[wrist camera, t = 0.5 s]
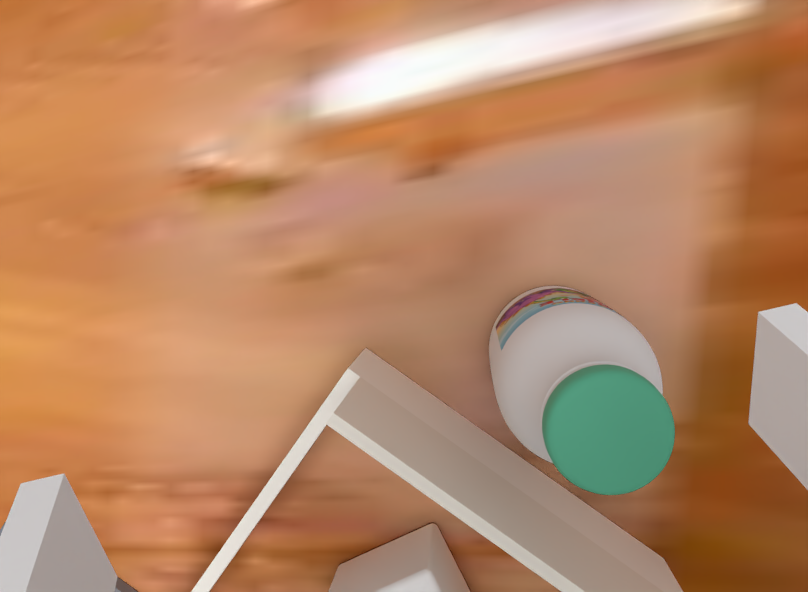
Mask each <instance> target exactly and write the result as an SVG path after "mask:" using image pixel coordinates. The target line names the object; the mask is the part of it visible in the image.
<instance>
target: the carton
mask: <svg viewBox="0 0 808 592" xmlns="http://www.w3.org/2000/svg"><path fill="white" fill-rule="evenodd" d="M327 425H328V426H329V427H331V428H332V429H334V430H335V431H336V432H338V433H339V434H341V435H342V436H343V437H345V438H346V439H348V440H349V441H350V442H352V443H353V444H355V445H356V446H357V447H359V448H360V449H362V450H363V451H364V452H366V453H367V454H369V455H370V456H372V457H373V458H374V459H376V460H377V461H379V462H380V463H381V464H383V465H384V466H386V467H387V468H388V469H390V470H391V471H393V472H394V473H395V474H397V475H398V476H400V477H401V478H402V479H404V480H405V481H407V482H408V483H409V484H411V485H412V486H414V487H415V488H417V489H418V490H419V491H421V492H422V493H424V494H425V495H426V496H428V497H429V498H431V499H432V500H433V501H435V502H436V503H438V504H439V505H440V506H442V507H443V508H445V509H446V510H447V511H449V512H450V513H452V514H453V515H455V516H456V517H457V518H459V519H460V520H462V521H463V522H464V523H466V524H467V525H469V526H470V527H471V528H473V529H474V530H476V531H477V532H478V533H480V534H481V535H483V536H484V537H485V538H487V539H488V540H490V541H491V542H492V543H494V544H495V545H497V546H498V547H500V548H501V549H502V550H504V551H505V552H507V553H508V554H509V555H511V556H512V557H514V558H515V559H516V560H518V561H519V562H521V563H522V564H523V565H525V566H526V567H528V568H529V569H530V570H532V571H533V572H535V573H536V574H538V575H539V576H540V577H542V578H543V579H545V580H546V581H547V582H549V583H550V584H552V585H553V586H554V587H556V588H557V589H559V590H560V591H561V592H683V591H682V589H681V587H680V586H679V584H678V582H677V580H676V579H675V577H674V575H673V574H672V572H671V570H670V568H669V567H668V565H667V563H666V562H665V560H664V558H662V557H661V556H660V555H658V554H657V553H655V552H654V551H653V550H651V549H650V548H648V547H647V546H645V545H644V544H643V543H641V542H640V541H638V540H637V539H636V538H634V537H633V536H631V535H630V534H629V533H627V532H626V531H624V530H623V529H621V528H620V527H619V526H617V525H616V524H614V523H613V522H612V521H610V520H609V519H607V518H606V517H605V516H603V515H602V514H600V513H599V512H597V511H596V510H595V509H593V508H592V507H590V506H589V505H588V504H586V503H585V502H583V501H582V500H580V499H579V498H578V497H576V496H575V495H573V494H572V493H571V492H569V491H568V490H566V489H565V488H564V487H562V486H561V485H559V484H558V483H556V482H555V481H554V480H552V479H551V478H549V477H548V476H547V475H545V474H544V473H542V472H541V471H540V470H538V469H537V468H535V467H534V466H532V465H531V464H530V463H528V462H527V461H525V460H524V459H523V458H521V457H520V456H518V455H517V454H515V453H514V452H513V451H511V450H510V449H508V448H507V447H506V446H504V445H503V444H501V443H500V442H499V441H497V440H496V439H494V438H493V437H491V436H490V435H489V434H487V433H486V432H484V431H483V430H482V429H480V428H479V427H477V426H476V425H474V424H473V423H472V422H470V421H469V420H467V419H466V418H465V417H463V416H462V415H460V414H459V413H458V412H456V411H455V410H453V409H452V408H450V407H449V406H448V405H446V404H445V403H443V402H442V401H441V400H439V399H438V398H436V397H435V396H434V395H432V394H431V393H429V392H428V391H426V390H425V389H424V388H422V387H421V386H419V385H418V384H417V383H415V382H414V381H412V380H411V379H409V378H408V377H407V376H405V375H404V374H402V373H401V372H400V371H398V370H397V369H395V368H394V367H393V366H391V365H390V364H388V363H387V362H385V361H384V360H383V359H381V358H380V357H378V356H377V355H376V354H374V353H373V352H371V351H370V350H368V349H367V348H365V349H364V350H363V351H362V353H361V354H360V355H359V356H358V357H357V358H356V359H355V361H354V362H353V363H352V364H351V365H350V366H349V367H348V369H347V370H346V372H345V373H344V374H343V376H342V377H341V379H340V380H339V382H338V383H337V384H336V386H335V387H334V389H333V390H332V392H331V393H330V394H329V396H328V397H327V399H326V400H325V402H324V403H323V404H322V406H321V407H320V409H319V410H318V412H317V413H316V414H315V416H314V417H313V419H312V420H311V421H310V423H309V424H308V426H307V427H306V429H305V430H304V431H303V433H302V434H301V436H300V437H299V439H298V440H297V441H296V443H295V444H294V446H293V447H292V449H291V450H290V451H289V453H288V454H287V456H286V457H285V459H284V460H283V461H282V463H281V464H280V466H279V467H278V469H277V470H276V471H275V473H274V474H273V476H272V477H271V479H270V480H269V481H268V483H267V484H266V486H265V487H264V489H263V490H262V491H261V493H260V494H259V496H258V497H257V499H256V500H255V501H254V503H253V504H252V506H251V507H250V509H249V510H248V511H247V513H246V514H245V516H244V517H243V519H242V520H241V521H240V523H239V524H238V526H237V527H236V529H235V530H234V531H233V533H232V534H231V536H230V537H229V539H228V540H227V541H226V543H225V544H224V546H223V547H222V549H221V550H220V551H219V553H218V554H217V556H216V557H215V559H214V560H213V561H212V563H211V564H210V566H209V567H208V569H207V570H206V571H205V573H204V574H203V576H202V577H201V579H200V580H199V581H198V583H197V584H196V586H195V587H194V589H193V590H192V591H191V592H210V590H211V589H212V587H213V586H214V585H215V583H216V582H217V580H218V579H219V578H220V576H221V575H222V573H223V572H224V570H225V569H226V568H227V566H228V565H229V563H230V562H231V561H232V559H233V558H234V556H235V555H236V553H237V552H238V551H239V549H240V548H241V546H242V545H243V543H244V542H245V541H246V539H247V538H248V536H249V535H250V534H251V532H252V531H253V529H254V528H255V526H256V525H257V524H258V522H259V521H260V519H261V518H262V516H263V515H264V514H265V512H266V511H267V509H268V508H269V507H270V505H271V504H272V502H273V501H274V499H275V498H276V497H277V495H278V494H279V492H280V491H281V490H282V488H283V487H284V485H285V484H286V482H287V481H288V480H289V478H290V477H291V475H292V474H293V472H294V471H295V470H296V468H297V467H298V465H299V464H300V463H301V461H302V460H303V458H304V457H305V455H306V454H307V453H308V451H309V450H310V448H311V447H312V445H313V444H314V443H315V441H316V440H317V438H318V437H319V436H320V434H321V433H322V431H323V430H324V428H325V427H326V426H327Z"/></svg>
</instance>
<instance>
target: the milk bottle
mask: <svg viewBox="0 0 808 592" xmlns="http://www.w3.org/2000/svg"><path fill="white" fill-rule="evenodd" d="M489 360H490V368H491V375H492V381H493V386H494V391H495V395H496V399H497V402H498V405H499V408H500V411H501V414H502V416H503V418H504V420H505V422H506V424H507V425H508V427H509V429H510V430H511V431H512V433H513V434H514V435H515V436H516V438H517V439H518V440H519V441H520V442H521V443H522V444H523V445H524V446H525V447H526V448H527V449H529V450H530V451H531V452H532V453H534V454H536V455H537V456H539V457H540V458H542V459H544V460H546V461H548V462H551V463H553V464H554V465H555V467H556V468H557V469H558V471H559V472H560V473H561V474H562V475H563V476H564V477H565V478H566V479H567V480H569V481H570V482H571V483H573V484H574V485H576V486H578V487H580V488H582V489H584V490H587V491H589V492H593V493H597V494H602V495H620V494H625V493H629V492H632V491H635V490H637V489H640V488H642V487H643V486H645V485H647V484H648V483H650V482H651V481H652V480H653V479H654V478H656V477H657V476H658V475H659V473H660V472H661V471H662V470H663V468H664V467H665V465H666V464H667V462H668V460H669V458H670V456H671V453H672V450H673V445H674V438H675V427H674V420H673V416H672V412H671V410H670V407H669V405H668V403H667V402H666V400H665V398H664V397H663V386H662V377H661V372H660V367H659V364H658V361H657V359H656V357H655V354H654V352H653V351H652V349H651V347H650V345H649V343H648V342H647V340H646V339H645V338H644V336H643V335H642V334H641V333H640V332H639V330H638V329H637V328H635V327H634V326H633V325H632V324H631V323H630V322H629V321H628V320H626V319H625V318H624V317H623V316H621V315H620V314H619V313H617V312H615V311H614V310H612V309H611V308H609V307H608V306H606V305H604V304H603V303H601V302H599V301H598V300H596V299H594V298H592V297H591V296H589V295H587V294H585V293H583V292H581V291H578V290H575V289H572V288H568V287H563V286H544V287H538V288H535V289H531V290H529V291H527V292H524V293H522V294H521V295H519V296H517V297H516V298H514V299H513V300H512V301H511V302H510V303H508V305H507V306H506V307H505V308H504V309H503V310H502V311H501V313H500V314H499V316H498V317H497V319H496V321H495V323H494V326H493V328H492V331H491V335H490V340H489Z"/></svg>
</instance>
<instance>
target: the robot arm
mask: <svg viewBox="0 0 808 592" xmlns="http://www.w3.org/2000/svg"><path fill="white" fill-rule="evenodd" d="M748 424H749V425H750V426H751V427H752V428H753V429H754V431H755V432H756V433H757V434H758V435H759V436H760V437H761V438H762V440H763V441H764V442H765V443H766V444H767V445H768V446H769V447H770V448H771V450H772V451H773V452H774V453H775V454H776V455H777V456H778V457H779V459H780V460H781V461H782V462H783V463H784V464H785V465H786V466H787V467H788V469H789V470H790V471H791V472H792V473H793V474H794V475H795V476H796V478H797V479H798V480H799V481H800V482H801V483H802V484H803V485H804V486H805V488H806V489H807V490H808V312H807V311H805V310H804V309H803V308H802V307H800V306H799V305H798V304H797V303H795V304H791V305H786V306H782V307H778V308H773V309H769V310H765V311H761V312H758V321H757V332H756V344H755V355H754V366H753V377H752V389H751V400H750V411H749V423H748ZM116 582H117V575H116V573H115V571H114V569H113V567H112V565H111V563H110V561H109V559H108V557H107V555H106V554H105V552H104V550H103V548H102V546H101V544H100V542H99V540H98V538H97V536H96V534H95V532H94V530H93V528H92V526H91V524H90V523H89V521H88V519H87V517H86V515H85V513H84V511H83V509H82V507H81V505H80V503H79V501H78V499H77V497H76V495H75V493H74V492H73V490H72V488H71V486H70V484H69V482H68V480H67V478H66V476H65V474H60V475H55V476H51V477H47V478H42V479H38V480H34V481H30V482H25V483H21V485H20V487H19V490H18V492H17V495H16V497H15V500H14V503H13V505H12V508H11V510H10V513H9V515H8V518H7V520H6V523H5V525H4V528H3V531H2V533H1V536H0V592H115V587H116Z"/></svg>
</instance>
